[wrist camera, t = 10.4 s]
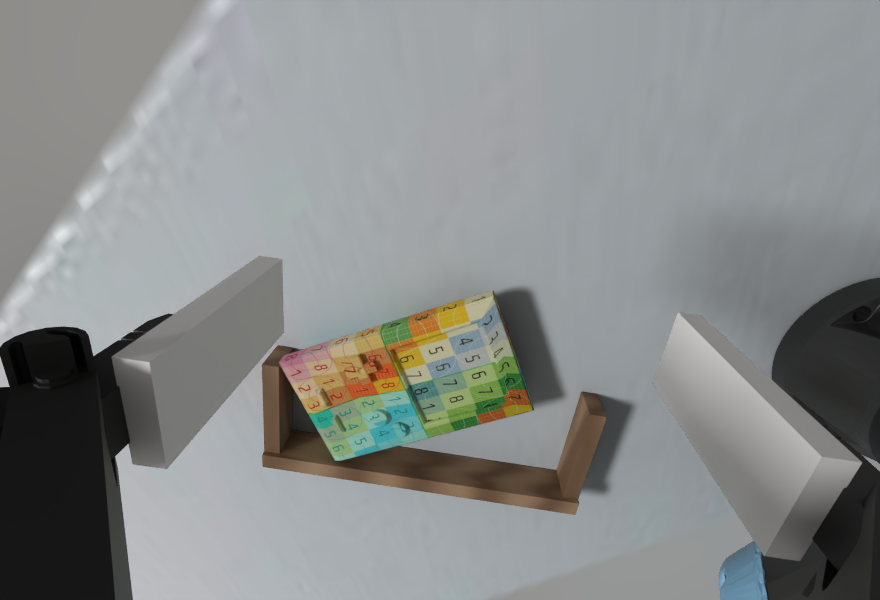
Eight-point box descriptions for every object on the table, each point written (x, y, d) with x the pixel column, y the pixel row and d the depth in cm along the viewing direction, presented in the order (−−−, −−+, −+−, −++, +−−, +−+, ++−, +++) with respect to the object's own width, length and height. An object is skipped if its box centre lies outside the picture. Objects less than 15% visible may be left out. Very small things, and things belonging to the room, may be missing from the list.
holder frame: (596, 394, 43) (608, 420, 39) (567, 483, 48) (575, 514, 44) (277, 345, 43) (259, 367, 40) (278, 439, 48) (262, 466, 44)
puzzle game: (273, 368, 39) (494, 300, 35) (293, 342, 43) (492, 279, 40) (332, 467, 43) (535, 416, 39) (344, 435, 48) (529, 386, 44)
